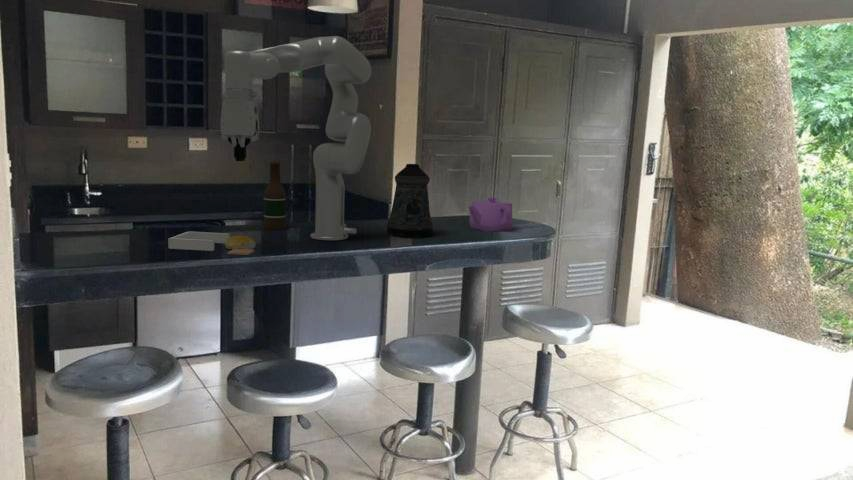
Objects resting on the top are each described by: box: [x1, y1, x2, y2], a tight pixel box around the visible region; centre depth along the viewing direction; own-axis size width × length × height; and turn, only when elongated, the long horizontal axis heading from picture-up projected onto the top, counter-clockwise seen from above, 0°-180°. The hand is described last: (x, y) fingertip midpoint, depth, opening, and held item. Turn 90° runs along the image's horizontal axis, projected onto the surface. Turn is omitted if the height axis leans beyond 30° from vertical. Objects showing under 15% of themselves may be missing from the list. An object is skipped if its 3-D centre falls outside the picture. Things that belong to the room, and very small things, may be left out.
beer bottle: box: [263, 160, 287, 231], centre depth 250 cm, size 8×8×24 cm
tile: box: [226, 249, 255, 256], centre depth 204 cm, size 6×6×1 cm
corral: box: [167, 231, 231, 252], centre depth 213 cm, size 14×14×3 cm
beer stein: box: [386, 163, 434, 239], centre depth 249 cm, size 16×19×25 cm
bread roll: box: [224, 235, 257, 250], centre depth 212 cm, size 8×9×4 cm
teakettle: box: [468, 196, 513, 233], centre depth 272 cm, size 17×17×12 cm
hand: (240, 160), depth 202 cm, fingers closed
